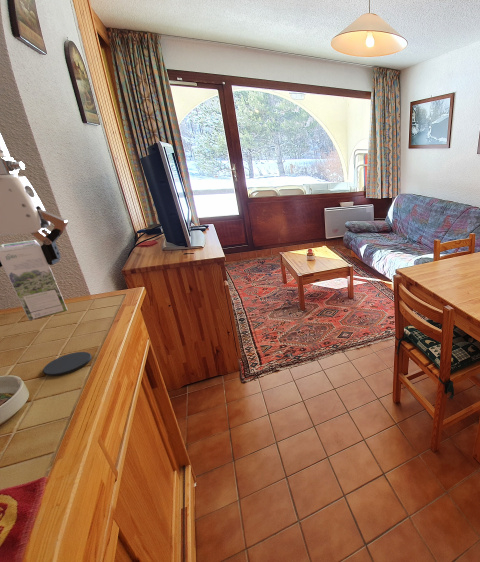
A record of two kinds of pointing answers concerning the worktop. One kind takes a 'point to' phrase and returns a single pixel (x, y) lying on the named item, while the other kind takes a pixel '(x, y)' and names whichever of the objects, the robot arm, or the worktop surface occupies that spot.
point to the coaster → (67, 364)
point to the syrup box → (32, 279)
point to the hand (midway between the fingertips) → (26, 265)
